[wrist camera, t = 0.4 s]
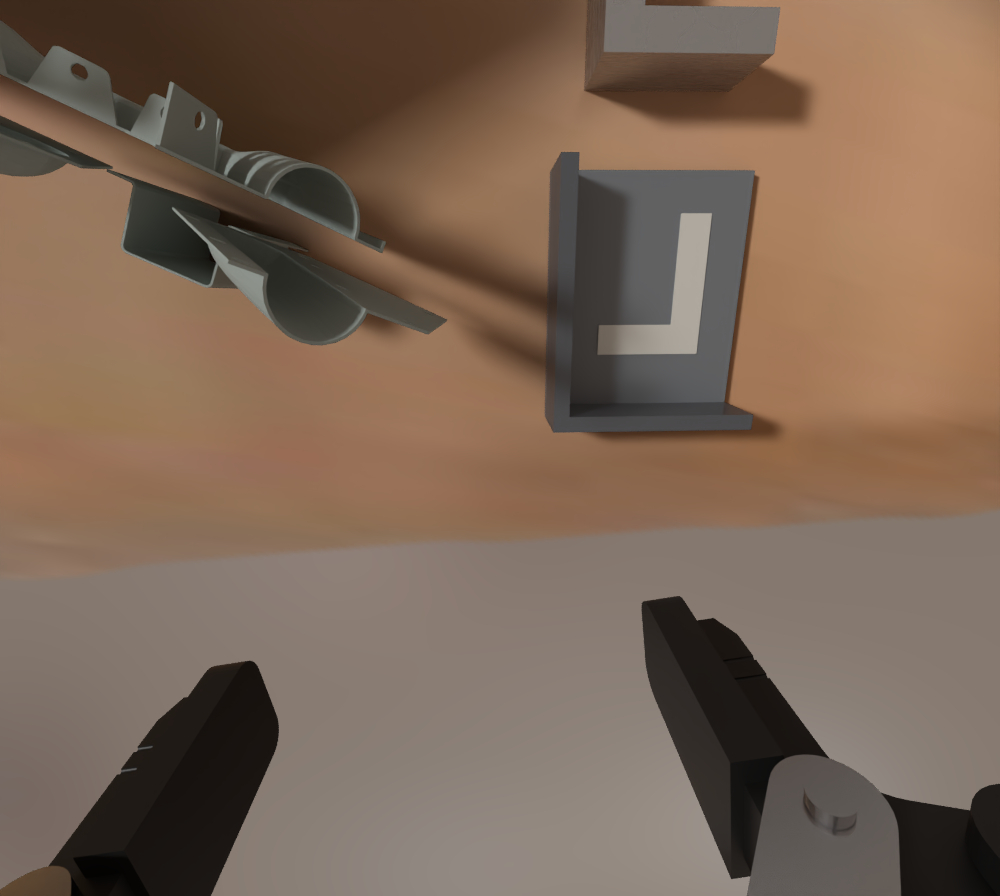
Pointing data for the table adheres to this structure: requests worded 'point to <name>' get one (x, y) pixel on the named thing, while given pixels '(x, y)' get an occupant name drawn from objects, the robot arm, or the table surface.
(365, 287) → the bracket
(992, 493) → the table surface
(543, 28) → the table surface
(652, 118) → the table surface
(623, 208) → the grey l-shaped slot base
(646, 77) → the l bracket
